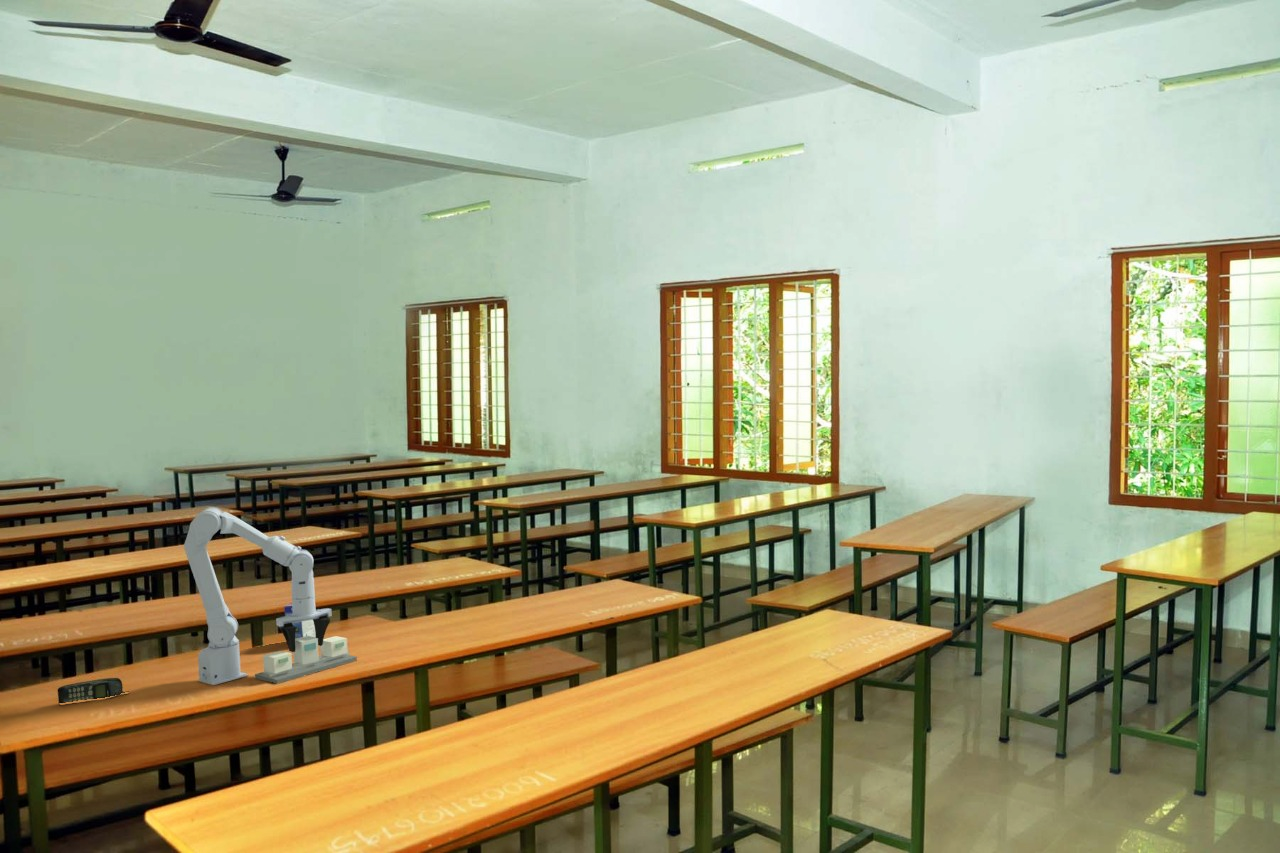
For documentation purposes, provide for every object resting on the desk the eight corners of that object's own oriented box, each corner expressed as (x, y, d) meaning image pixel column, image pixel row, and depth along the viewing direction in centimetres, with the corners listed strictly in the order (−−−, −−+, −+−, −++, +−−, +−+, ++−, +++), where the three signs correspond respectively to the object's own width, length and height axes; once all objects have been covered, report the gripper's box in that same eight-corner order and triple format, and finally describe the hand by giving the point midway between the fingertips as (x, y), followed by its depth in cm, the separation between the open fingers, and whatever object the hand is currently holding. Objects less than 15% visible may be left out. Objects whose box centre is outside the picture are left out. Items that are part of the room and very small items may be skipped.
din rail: (269, 678, 247) (269, 674, 247) (262, 676, 249) (261, 672, 249) (349, 655, 266) (349, 651, 266) (341, 653, 268) (341, 649, 268)
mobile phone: (56, 688, 233) (127, 676, 239) (58, 684, 236) (127, 673, 242) (58, 708, 233) (129, 696, 240) (59, 705, 236) (129, 692, 242)
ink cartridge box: (300, 638, 291) (298, 590, 291) (318, 638, 291) (316, 590, 290) (285, 647, 281) (282, 597, 281) (304, 647, 281) (301, 597, 280)
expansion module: (303, 665, 254) (302, 642, 254) (293, 661, 258) (292, 639, 258) (319, 661, 257) (318, 638, 257) (310, 657, 261) (308, 635, 261)
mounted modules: (275, 673, 247) (274, 658, 247) (263, 670, 250) (262, 655, 250) (348, 653, 264) (347, 638, 264) (336, 650, 268) (335, 636, 268)
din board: (277, 683, 245) (277, 679, 245) (255, 678, 251) (254, 674, 251) (356, 660, 264) (356, 656, 264) (334, 655, 270) (334, 652, 270)
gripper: (321, 590, 265) (323, 640, 265) (269, 600, 254) (272, 651, 255) (334, 593, 260) (336, 644, 260) (282, 603, 249) (285, 656, 250)
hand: (305, 648), depth 257 cm, fingers open, 7 cm apart
